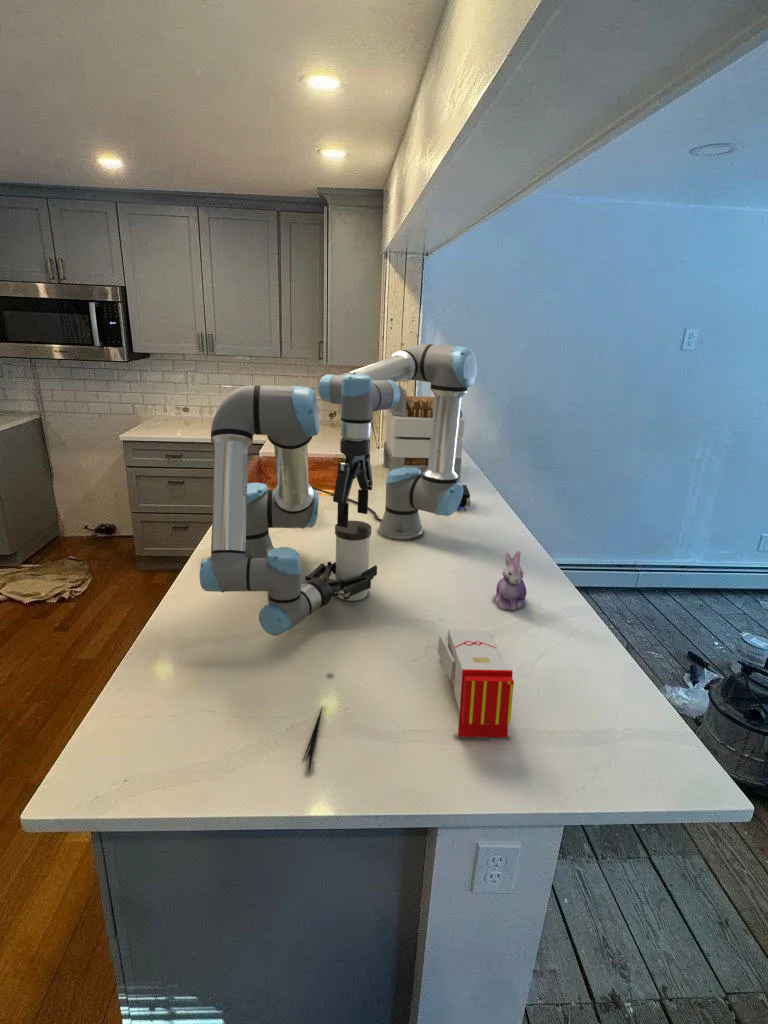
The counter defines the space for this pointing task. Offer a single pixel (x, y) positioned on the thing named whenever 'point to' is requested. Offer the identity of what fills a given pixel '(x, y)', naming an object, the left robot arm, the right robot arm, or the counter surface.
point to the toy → (478, 682)
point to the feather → (313, 740)
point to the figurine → (511, 584)
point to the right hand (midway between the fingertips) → (352, 519)
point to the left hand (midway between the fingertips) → (361, 565)
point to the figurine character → (465, 498)
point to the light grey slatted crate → (413, 433)
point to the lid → (354, 531)
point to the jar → (352, 561)
